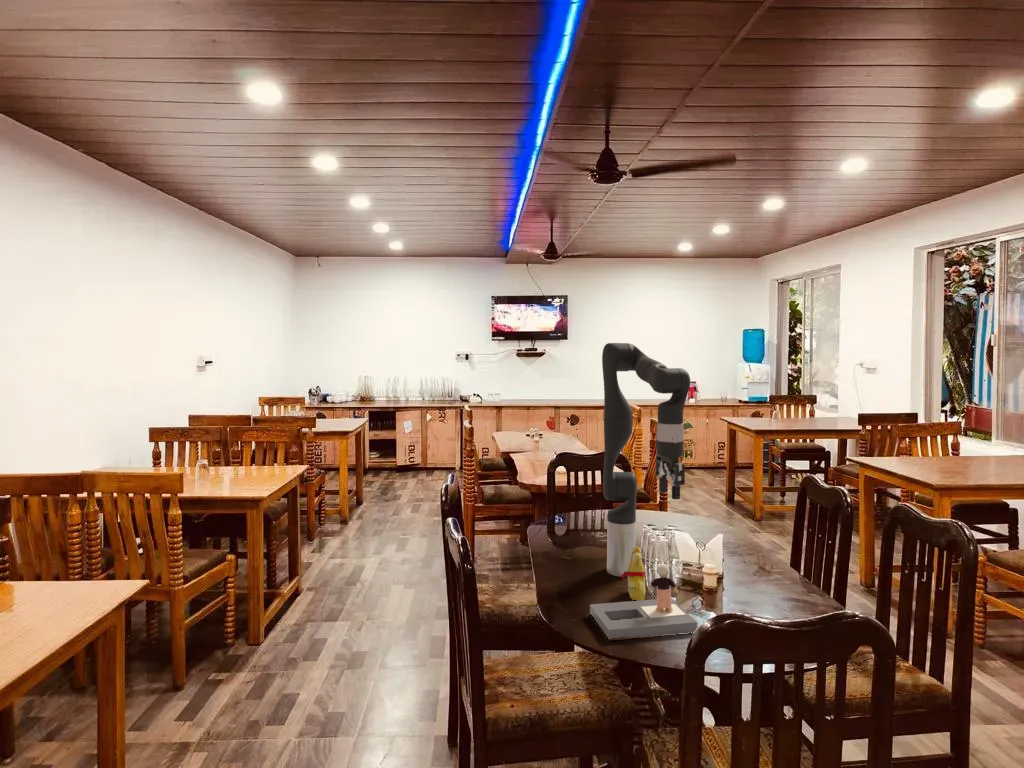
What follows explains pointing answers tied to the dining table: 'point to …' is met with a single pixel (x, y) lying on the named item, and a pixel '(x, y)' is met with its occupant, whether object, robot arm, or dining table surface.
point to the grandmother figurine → (663, 589)
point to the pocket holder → (641, 619)
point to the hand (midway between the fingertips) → (669, 495)
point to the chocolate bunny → (636, 576)
